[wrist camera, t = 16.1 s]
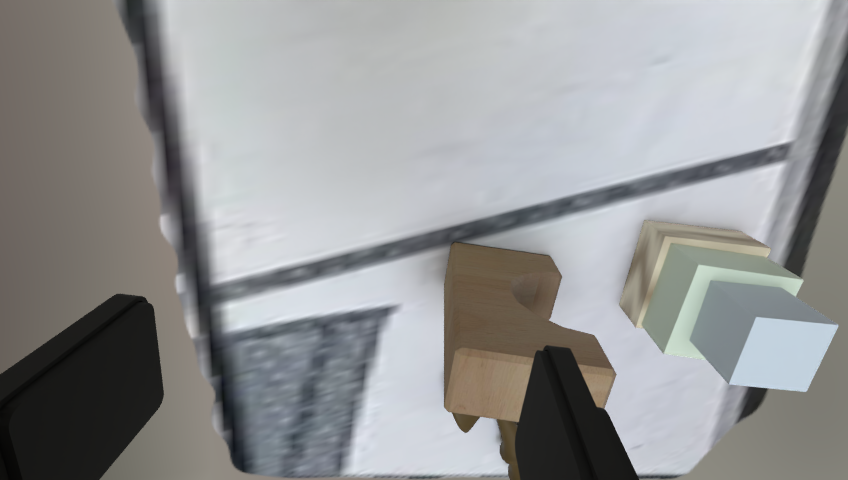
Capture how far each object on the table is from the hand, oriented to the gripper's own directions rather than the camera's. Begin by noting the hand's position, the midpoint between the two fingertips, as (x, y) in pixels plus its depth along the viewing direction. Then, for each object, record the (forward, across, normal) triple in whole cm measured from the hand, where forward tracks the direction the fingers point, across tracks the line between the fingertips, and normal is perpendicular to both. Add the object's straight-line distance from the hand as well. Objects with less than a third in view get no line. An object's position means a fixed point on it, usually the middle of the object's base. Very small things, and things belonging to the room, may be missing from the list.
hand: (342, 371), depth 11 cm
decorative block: (+36, -10, +13) cm, 40 cm away
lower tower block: (+37, -29, +10) cm, 48 cm away
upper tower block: (+32, -29, +10) cm, 44 cm away
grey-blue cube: (+27, -29, +10) cm, 41 cm away
